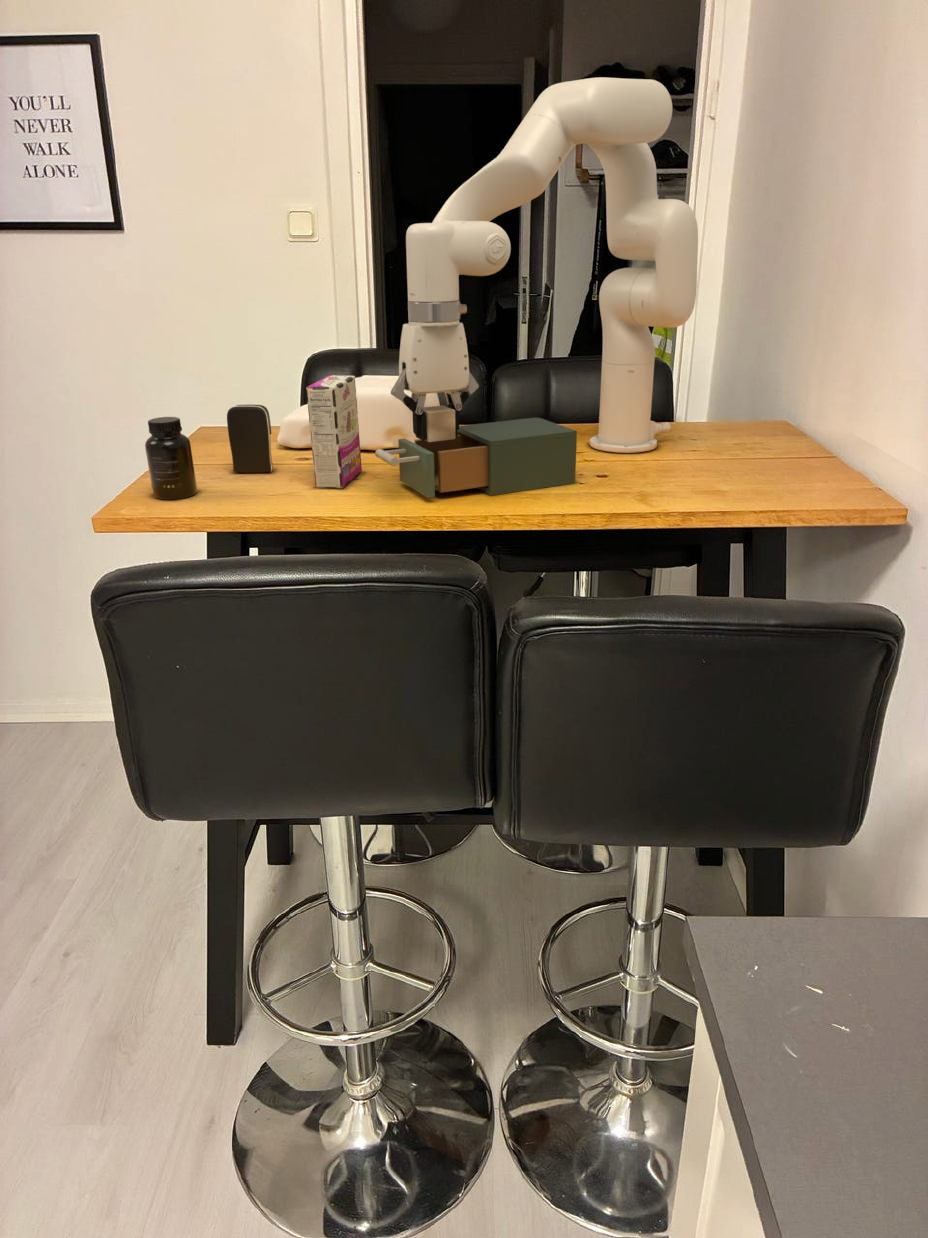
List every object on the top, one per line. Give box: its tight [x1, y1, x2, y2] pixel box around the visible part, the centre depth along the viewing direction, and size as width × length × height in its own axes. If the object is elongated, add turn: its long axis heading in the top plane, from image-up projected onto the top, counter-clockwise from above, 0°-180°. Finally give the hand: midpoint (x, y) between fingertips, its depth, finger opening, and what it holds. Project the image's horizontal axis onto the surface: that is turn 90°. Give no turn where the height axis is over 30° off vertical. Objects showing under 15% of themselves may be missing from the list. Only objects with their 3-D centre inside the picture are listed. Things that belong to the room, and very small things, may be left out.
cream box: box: [424, 404, 455, 442], centre depth 140 cm, size 4×4×4 cm
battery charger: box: [226, 404, 274, 474], centre depth 155 cm, size 7×4×11 cm, turn 88°
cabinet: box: [457, 417, 578, 497], centre depth 148 cm, size 16×13×9 cm
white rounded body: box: [276, 374, 441, 451], centre depth 175 cm, size 19×30×13 cm, turn 79°
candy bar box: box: [305, 374, 363, 490], centre depth 148 cm, size 11×5×16 cm, turn 169°
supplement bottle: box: [144, 416, 198, 501], centre depth 142 cm, size 7×7×12 cm
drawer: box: [374, 434, 489, 498], centre depth 143 cm, size 19×11×7 cm, turn 116°
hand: (436, 435), depth 141 cm, fingers closed on cream box, 4 cm apart
